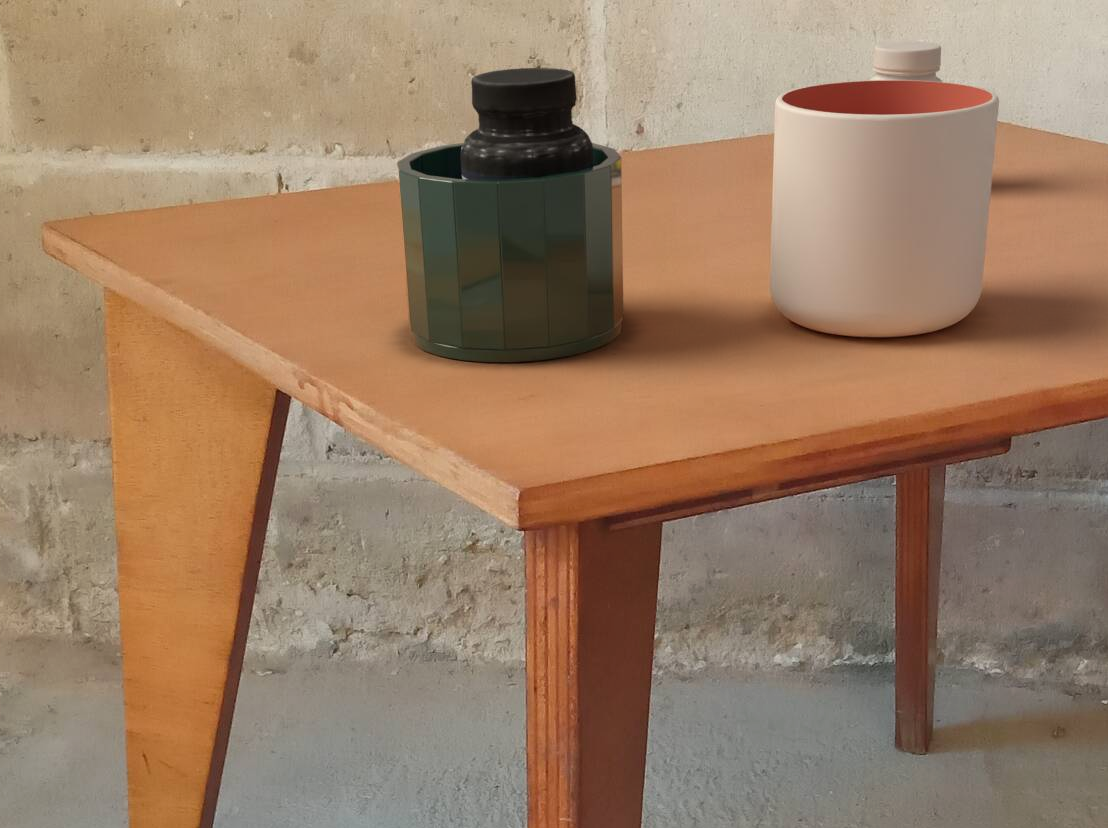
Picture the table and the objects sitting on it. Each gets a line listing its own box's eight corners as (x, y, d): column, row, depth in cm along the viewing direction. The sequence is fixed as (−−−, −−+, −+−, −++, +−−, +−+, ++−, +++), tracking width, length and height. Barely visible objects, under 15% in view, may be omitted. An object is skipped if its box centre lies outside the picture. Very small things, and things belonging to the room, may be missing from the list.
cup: (765, 344, 79) (772, 117, 74) (771, 288, 87) (777, 81, 82) (987, 346, 77) (1009, 114, 72) (971, 288, 86) (989, 78, 81)
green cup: (642, 306, 85) (641, 139, 81) (592, 367, 76) (588, 184, 72) (449, 299, 87) (438, 137, 84) (380, 357, 79) (365, 179, 75)
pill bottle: (577, 297, 85) (571, 61, 79) (614, 329, 80) (610, 78, 74) (457, 310, 83) (442, 71, 78) (486, 343, 78) (473, 90, 73)
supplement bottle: (851, 195, 106) (858, 50, 101) (868, 179, 109) (876, 39, 105) (928, 199, 104) (939, 51, 100) (943, 183, 108) (954, 40, 103)
